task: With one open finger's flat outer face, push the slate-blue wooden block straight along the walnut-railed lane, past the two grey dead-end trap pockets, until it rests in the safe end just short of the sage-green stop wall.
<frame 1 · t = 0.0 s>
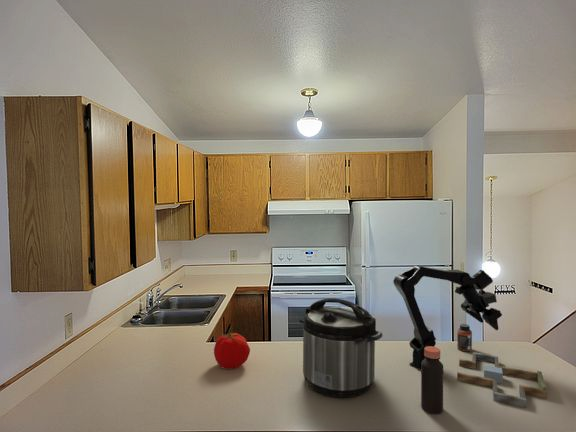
hand: (489, 325, 151), 15 cm above the worktop, tool tilted 35°, fingers open, 9 cm apart
vinegar: (432, 409, 118), on the worktop
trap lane: (498, 379, 135), on the worktop
supplement bottle: (464, 349, 163), on the worktop
pressure cooker: (339, 380, 137), on the worktop
tomato: (233, 366, 150), on the worktop
block: (492, 379, 136), on the worktop
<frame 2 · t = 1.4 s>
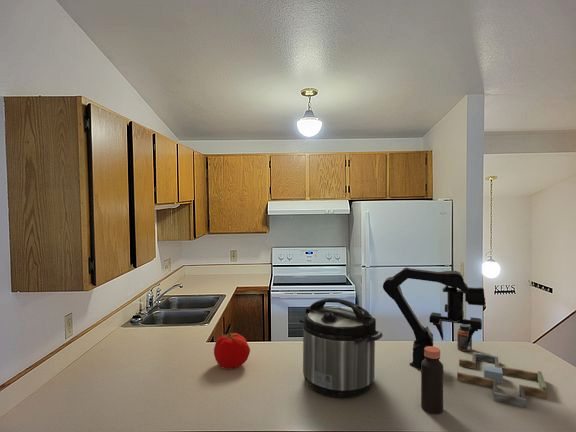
hand: (455, 341, 142), 12 cm above the worktop, tool pointing down, fingers open, 9 cm apart
nothing on the worktop moved.
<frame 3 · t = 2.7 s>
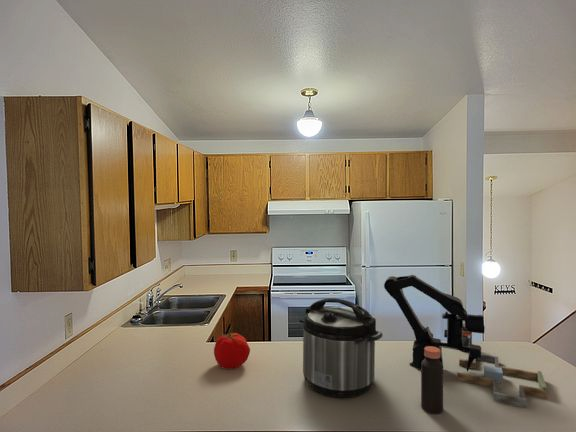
hand: (454, 368, 143), 1 cm above the worktop, tool pointing down, fingers open, 9 cm apart
nothing on the worktop moved.
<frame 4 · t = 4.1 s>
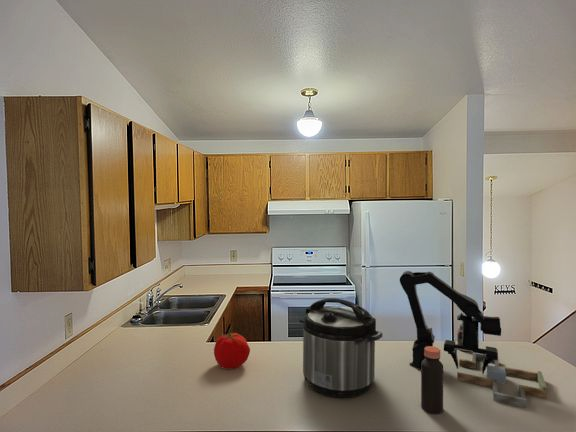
hand: (470, 370, 140), 1 cm above the worktop, tool pointing down, fingers open, 8 cm apart
block: (496, 379, 136), on the worktop, touching gripper
everything else where it was.
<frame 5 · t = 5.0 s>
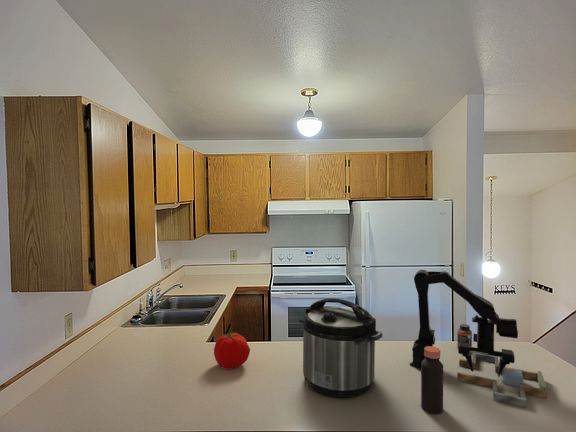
hand: (485, 373, 138), 1 cm above the worktop, tool pointing down, fingers open, 9 cm apart
block: (512, 382, 133), on the worktop, touching gripper
everything else where it was.
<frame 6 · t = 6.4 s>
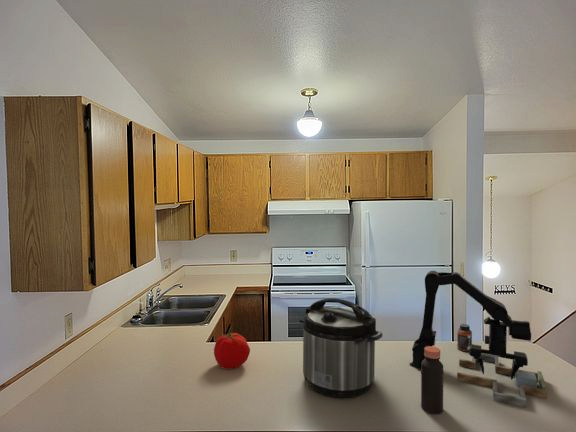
hand: (497, 376, 136), 1 cm above the worktop, tool pointing down, fingers open, 9 cm apart
block: (525, 385, 132), on the worktop
everything else where it was.
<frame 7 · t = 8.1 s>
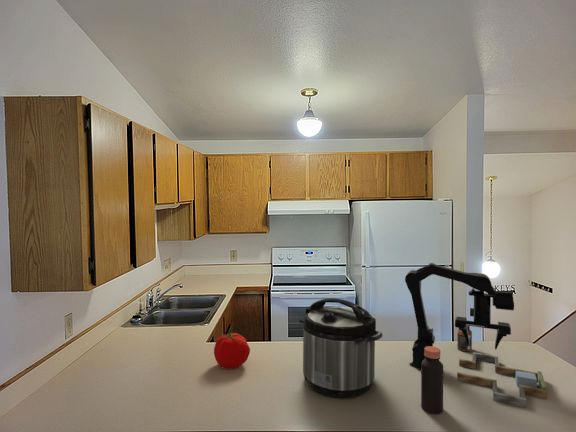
hand: (481, 347, 138), 12 cm above the worktop, tool pointing down, fingers open, 9 cm apart
nothing on the worktop moved.
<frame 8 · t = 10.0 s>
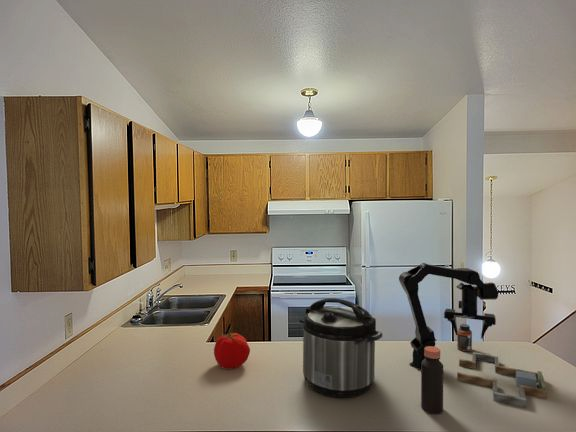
hand: (469, 336, 147), 12 cm above the worktop, tool pointing down, fingers open, 9 cm apart
nothing on the worktop moved.
at the end: block inside the target area (0.7 cm from its centre), on the worktop; block moved 10.5 cm from its start; block tilted 0° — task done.
